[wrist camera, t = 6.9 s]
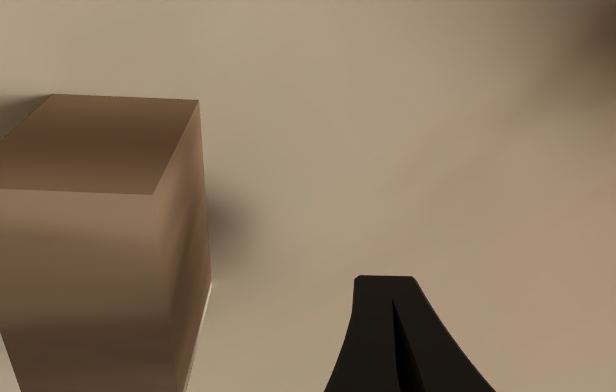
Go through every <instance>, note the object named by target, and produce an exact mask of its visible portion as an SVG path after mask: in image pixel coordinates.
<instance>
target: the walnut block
mask: <svg viewBox="0 0 616 392" xmlns="http://www.w3.org/2000/svg"><path fill="white" fill-rule="evenodd" d="M211 288H212V282H211V267H210V253H209V238H208V224H207V209H206V195H205V180H204V165H203V151H202V136H201V122H200V107H199V100H183V99H160V98H137V97H113V96H90V95H67V94H52V95H51V96H50V97H49V98H48V99H47V100H46V101H45V102H44V103H42V104H41V105H40V106H39V107H38V108H37V109H36V110H35V111H34V112H32V113H31V114H30V115H29V116H28V117H27V118H26V119H25V120H23V121H22V122H21V123H20V124H19V125H18V126H17V127H16V128H15V129H13V130H12V131H11V132H10V133H9V134H8V135H7V136H6V137H5V138H3V139H2V140H1V141H0V333H1V335H2V338H3V341H4V344H5V347H6V350H7V353H8V356H9V358H10V361H11V364H12V367H13V370H14V373H15V376H16V379H17V381H18V384H19V387H20V390H21V392H186V390H187V386H188V381H189V377H190V373H191V369H192V365H193V361H194V357H195V353H196V349H197V345H198V341H199V337H200V333H201V329H202V325H203V321H204V317H205V313H206V309H207V305H208V301H209V297H210V293H211Z"/></svg>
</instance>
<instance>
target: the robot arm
mask: <svg viewBox="0 0 616 392" xmlns="http://www.w3.org/2000/svg"><path fill="white" fill-rule="evenodd" d="M324 392H496V391H495V390H494V389H493V388H492V387H491V386H490V385H489V383H488V382H487V381H486V380H485V379H484V378H483V376H482V375H481V374H480V373H479V371H478V370H477V369H476V368H475V367H474V365H473V364H472V363H471V362H470V360H469V359H468V358H467V356H466V355H465V354H464V353H463V351H462V350H461V349H460V347H459V346H458V344H457V343H456V342H455V340H454V339H453V337H452V336H451V335H450V333H449V332H448V331H447V329H446V328H445V326H444V325H443V323H442V322H441V320H440V319H439V317H438V316H437V314H436V313H435V311H434V310H433V308H432V306H431V305H430V303H429V302H428V300H427V298H426V297H425V295H424V293H423V291H422V290H421V288H420V286H419V284H418V283H417V281H416V280H415V279H414V278H413V277H412V276H370V275H359V276H358V277H357V278H355V279H354V291H353V305H352V314H351V318H350V322H349V326H348V329H347V333H346V336H345V340H344V343H343V346H342V348H341V351H340V354H339V357H338V359H337V362H336V365H335V367H334V370H333V372H332V375H331V377H330V379H329V382H328V384H327V386H326V388H325V391H324Z"/></svg>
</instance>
